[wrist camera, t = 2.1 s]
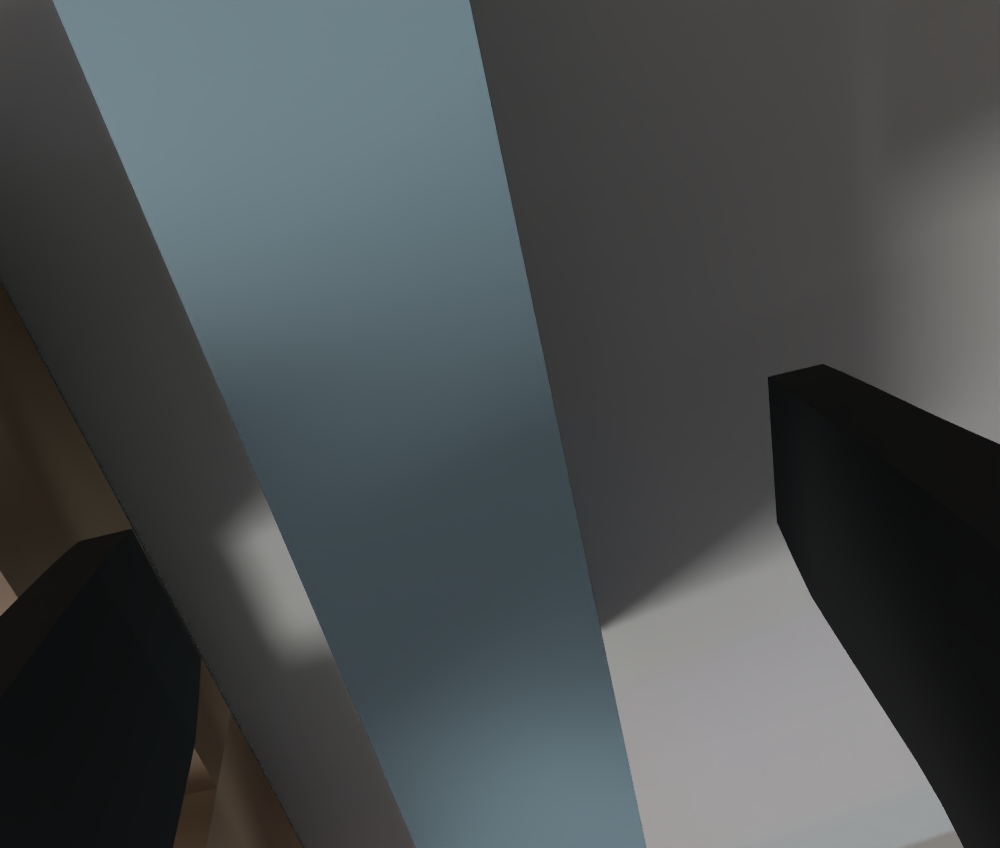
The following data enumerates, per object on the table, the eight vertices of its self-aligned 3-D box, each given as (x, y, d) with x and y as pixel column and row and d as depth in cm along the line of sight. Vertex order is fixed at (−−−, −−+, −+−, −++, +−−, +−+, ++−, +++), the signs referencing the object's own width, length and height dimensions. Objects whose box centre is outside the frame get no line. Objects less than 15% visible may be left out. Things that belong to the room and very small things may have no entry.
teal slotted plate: (227, -160, 11) (-33, -203, 4) (391, -201, 11) (404, -312, 4) (482, 664, 18) (541, 1140, 11) (582, 641, 18) (699, 1105, 11)
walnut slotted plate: (-238, 148, 12) (-443, 240, 9) (-91, 112, 12) (-247, 192, 9) (273, 958, 23) (256, 1125, 20) (353, 940, 22) (348, 1104, 20)
